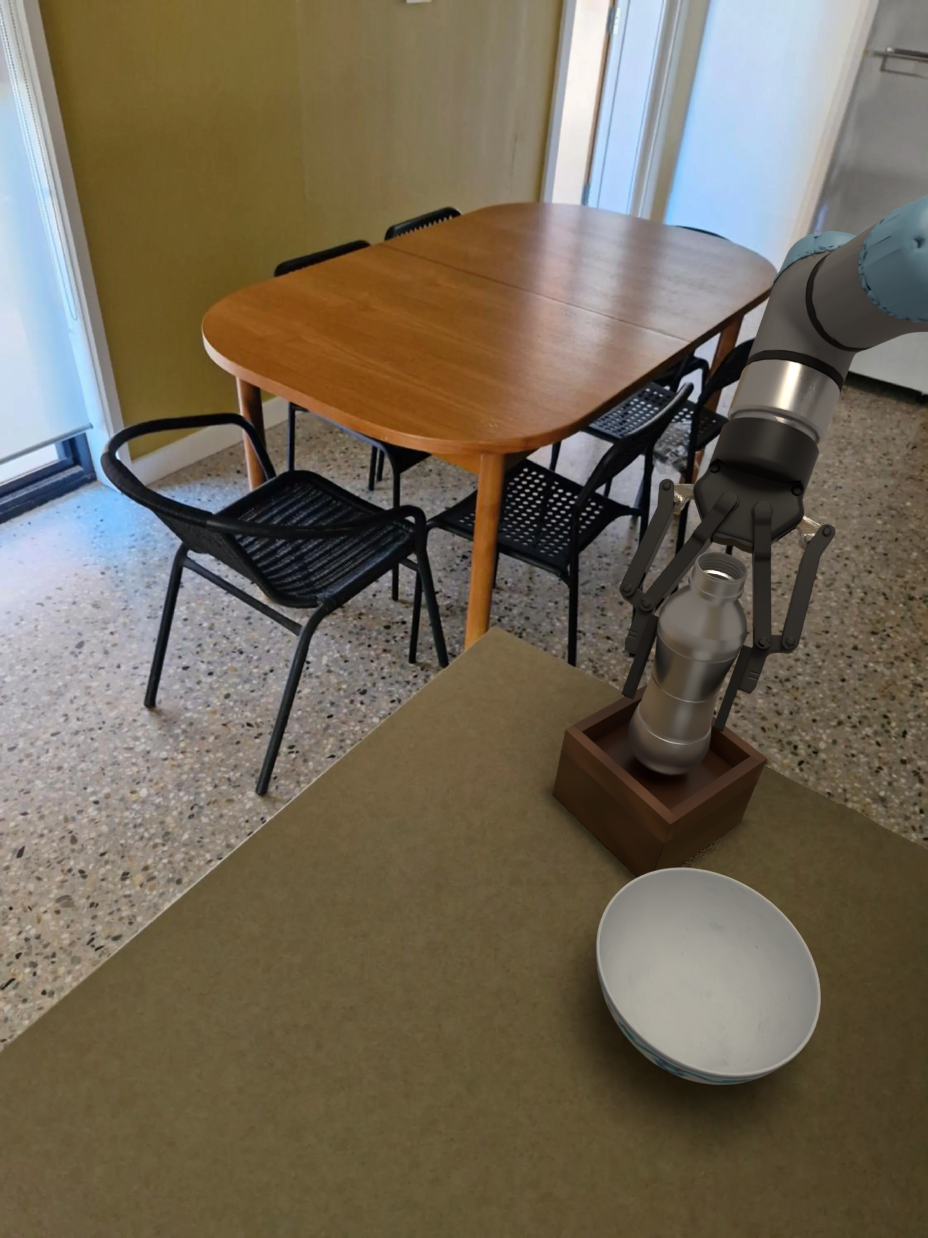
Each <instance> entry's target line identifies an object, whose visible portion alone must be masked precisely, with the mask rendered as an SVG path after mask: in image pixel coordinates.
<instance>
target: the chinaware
mask: <svg viewBox="0 0 928 1238" xmlns="http://www.w3.org/2000/svg"><path fill="white" fill-rule="evenodd" d="M597 928H598V929H597V933H596V940H595V959H596V969H597V976H598V981H599V985H600V988H601V992H602V995H603V998H604V1001H605V1003H606V1006H607V1009H608V1010H609V1013H610V1014H611V1017H612V1019H613V1020H614V1022H615V1023H616V1025H617V1027H618V1028H619V1029H620V1031H621V1032H622V1034H623V1035H624V1036H625V1038H626V1039H627V1040H628V1042H629V1043H630V1044H631V1045H632V1046H633V1047H634V1048H635V1049H636V1050H637V1051H638V1052H639V1053H640V1054H641V1055H642V1056H644V1057H645V1058H646V1059H647V1060H648V1061H650V1062H651V1063H653V1064H654V1065H656V1066H658V1067H659V1068H661V1069H663V1070H664V1071H666V1072H668V1073H669V1074H672V1075H674V1076H677V1077H679V1078H682V1079H685V1080H688V1081H691V1082H695V1083H700V1084H705V1085H706V1084H707V1085H714V1086H715V1085H717V1086H724V1085H737V1084H742V1083H747V1082H751V1081H755V1080H757V1079H760V1078H763V1077H766V1076H768V1075H770V1074H772V1073H773V1072H775V1071H777V1070H779V1069H780V1068H782V1067H784V1066H785V1065H786V1064H788V1063H789V1062H791V1061H792V1060H793V1059H794V1058H796V1056H797V1055H799V1054H800V1052H802V1050H804V1048H805V1047H806V1045H807V1044H808V1042H809V1041H810V1039H811V1037H812V1036H813V1034H814V1032H815V1029H816V1027H817V1024H818V1022H819V1021H818V1020H819V1016H820V1012H821V1000H822V996H821V993H822V992H821V984H820V977H819V974H818V970H817V965H816V963H815V960H814V958H813V955H812V953H811V951H810V949H809V947H808V945H807V943H806V941H805V940H804V938H803V937H802V935H801V934H800V932H799V930H798V929H797V928H796V926H795V925H794V924H793V923H792V922H791V920H790V919H789V918H788V917H787V916H786V915H785V914H784V913H783V912H782V910H780V909H779V908H778V907H777V906H776V905H775V904H774V903H773V902H772V901H770V900H769V899H768V898H767V897H765V896H764V895H762V894H761V893H760V892H758V891H757V890H755V889H753V888H752V887H750V886H748V885H747V884H745V883H743V882H740V881H739V880H736V879H734V878H732V877H729V876H727V875H724V874H721V873H718V872H714V871H711V870H707V869H702V868H701V869H700V868H695V867H678V868H668V869H662V870H657V871H653V872H650V873H647V874H644V875H642V876H640V877H636V878H634V879H632V880H631V881H629V882H627V884H625V885H623V886H622V888H620V889H619V890H618V891H617V892H616V893H615V894H614V895H613V897H612V898H611V899H610V901H609V902H608V904H607V905H606V907H605V909H604V911H603V913H602V915H601V918H600V920H599V924H598V927H597Z"/></svg>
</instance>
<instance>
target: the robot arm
mask: <svg viewBox="0 0 928 1238" xmlns="http://www.w3.org/2000/svg"><path fill="white" fill-rule="evenodd" d="M772 283H773V284H772V285H771V287H770V291H769V295H768V296H769V297H768V300H767V303H766V306H765V308H764V312H763V314H762V317H761V320H760V323H759V326H758V328H757V331H756V334H755V338H754V341H753V343H752V345H751V349H750V351H749V353H748V357H747V360H746V362H745V366H744V368H743V370H742V371H741V374H740V377H739V380H738V383H737V386H736V388H735V391H734V394H733V397H732V400H731V403H730V406H729V408H728V411H727V415H726V416H727V419H728V422H725V423H724V424H723V425H722V427H721V430H720V433H719V435H718V439H717V441H716V443H715V446H714V449H713V452H712V455H711V458H710V460H709V463H708V466H707V469H706V470H705V472H704V473H703V475H702V476H701V477H699V478H698V479H697V480H696V481H695V482H694V483H675V482H674V481H673V480H672V479H671V478H664V479H662V480H661V481H660V482H659V484H658V493H657V504H656V505H657V506H656V509H655V510H654V512H653V514H652V517H651V519H650V521H649V523H648V525H647V526H646V529H645V531H644V534H643V536H642V538H641V540H640V542H639V544H638V546H637V549H636V551H635V553H634V554H633V557H632V558H631V561H630V563H629V565H628V567H627V570H626V572H625V574H624V577H623V579H622V580H621V583H620V585H619V593H620V595H621V597H622V599H623V600H624V601H625V602H627V603H628V604H630V605H631V606H632V607H634V609H635V613H634V616H633V618H632V622H631V625H630V627H629V629H628V633H627V635H626V638H625V641H624V650H625V651H626V652H628V653H630V654H633V655H634V658H633V660H632V663H631V665H630V668H629V672H628V674H627V676H626V679H625V683H624V685H623V688H622V691H621V695H622V696H623V697H628V698H630V699H634V697H635V694H636V691H637V690H638V689H639V685H640V683H641V680H642V677H643V674H644V672H645V669H646V667H647V663H648V661H649V658H650V655H651V652H652V650H653V647H654V644H655V642H656V638H657V626H658V625H657V624H658V618H659V615H656V612H657V611H658V610H660V608H661V607H662V606H663V604H664V603H665V601H666V600H667V599H668V598H669V597H670V596H671V595H672V592H673V591H674V590H675V589H676V588H677V586H678V585H679V584H680V582H682V581H683V579H684V578H685V577H686V575H687V574H688V573H689V572H690V571H691V569H693V567H694V564H695V561H696V559H697V557H698V556H699V555H701V554H703V553H706V551H707V550H708V549H709V548H710V547H711V546H712V545H713V543H714V544H718V545H721V546H731V547H732V546H733V547H735V548H736V549H738V550H739V551H741V552H744V553H747V554H750V555H751V566H752V568H751V569H752V570H751V571H752V572H751V574H752V577H751V580H752V582H751V583H752V585H751V587H752V591H751V592H752V646H748V645H745V644H743V647H742V649H741V650H740V652H739V654H738V656H737V658H736V661H735V664H734V667H733V670H732V673H731V676H730V678H729V681H728V684H727V687H726V690H725V693H724V695H723V699H722V701H721V704H720V707H719V709H718V712H717V714H716V717H715V718H716V721H715V723H714V726H713V729H716V730H719V731H721V732H723V730H724V727H725V726H726V725H727V721H728V719H729V716H730V713H731V710H732V707H733V705H734V702H735V698H736V696H737V693H738V691H740V692H743V693H746V694H748V695H751V694H752V693H753V692H754V691H755V689H756V688H757V686H758V683H759V680H760V677H761V674H762V671H763V669H764V665H765V663H766V660H767V658H768V657H769V656H770V655H773V654H785V655H786V654H787V655H790V654H792V653H793V652H794V651H795V650H796V649H797V648H798V647H799V645H800V640H801V637H802V633H803V628H804V625H805V621H806V617H807V613H808V609H809V604H810V600H811V597H812V592H813V588H814V585H815V580H816V577H817V573H818V568H819V565H820V560H821V557H822V556H823V555H824V553H825V552H826V550H827V548H828V547H829V546H830V545H831V543H832V541H833V539H834V537H835V535H836V528H835V526H833V525H832V524H829V523H825V524H820V523H819V522H817V521H815V520H813V518H810V517H808V516H806V515H805V507H804V498H805V497H804V496H805V494H806V491H807V488H808V485H809V483H810V480H811V478H812V475H813V471H814V468H815V466H816V463H817V460H818V458H819V455H820V449H819V447H818V446H819V445H820V444H821V443H823V442H824V440H825V437H826V434H827V432H828V429H829V426H830V423H831V420H832V417H833V415H834V412H835V410H836V407H837V404H838V401H839V398H840V396H841V392H842V389H843V387H844V384H845V381H846V378H847V376H848V372H849V370H850V368H851V365H852V362H853V359H854V357H855V356H856V354H859V353H861V352H863V351H867V350H871V349H872V348H874V347H877V346H879V345H882V344H885V343H886V342H889V341H891V340H894V339H896V338H898V337H901V336H904V335H907V334H915V333H928V193H927V194H926V195H924V196H922V197H920V198H918V199H916V200H913V201H910V202H907V203H905V204H903V205H902V206H901V207H900V208H899V207H898V208H895V209H893V210H892V211H891V212H890V213H889V214H887V215H885V216H883V217H882V219H881V220H879V221H878V222H876V223H874V224H873V225H871V226H870V227H868V228H867V229H865V230H863V231H862V232H860V233H859V234H858V235H856V234H853V233H850V232H844V231H837V230H830V231H829V230H827V231H823V232H822V233H821V234H816V233H811V234H808V235H805V236H803V237H802V238H800V239H798V240H797V241H796V242H794V243H793V245H792V246H790V248H789V250H788V251H787V253H786V255H785V257H784V260H783V262H782V265H781V267H780V269H779V271H778V273H777V274H776V275H775V277H774V279H773V282H772ZM689 501H694V504H695V506H696V510H697V512H698V516H699V519H700V522H699V523H698V525H697V526H696V528H695V529H694V530H693V532H692V533H691V535H690V537H689V538H688V539H687V541H686V542H685V543H684V544H683V545H682V546H681V548H680V549H679V551H677V553H676V554H675V555H674V557H673V558H672V559H671V560H670V561H669V563H668V564H667V565H666V566H665V568H664V569H663V570H662V571H661V573H660V574H659V575H658V577H656V578H655V580H654V581H653V582H652V584H651V585H650V586H649V588H648V589H647V590H646V591H645V592H644V591H642V590H641V589H642V587H643V584H644V582H645V580H646V578H647V577H648V574H649V571H650V570H651V568H652V565H653V563H654V561H655V559H656V557H657V554H658V552H659V550H660V548H661V546H662V544H663V542H664V540H665V537H666V536H667V533H668V532H669V530H670V527H671V524H672V522H673V519H674V515H675V513H679V512H682V511H683V509H684V508H685V506H686V504H687V503H688V502H689ZM795 530H797V531H798V533H799V538H798V546H799V548H800V549H801V550H803V553H802V556H801V557H800V561H799V564H798V568H797V572H796V575H795V580H794V583H793V588H792V591H791V596H790V600H789V604H788V607H787V611H786V616H785V619H784V623H783V628H782V632H781V634H773V633H772V632H773V631H772V628H773V627H772V545H773V544H776V542H778V541H779V540H781V539H783V538H785V536H787V535H788V534H790V533H791V532H793V531H795Z"/></svg>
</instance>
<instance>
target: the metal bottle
mask: <svg viewBox="0 0 928 1238" xmlns="http://www.w3.org/2000/svg"><path fill="white" fill-rule="evenodd" d="M748 574H749V570H748V567H747V565H746V564H745V563H744V562H743V561H741V560H740V559H739V558H738V557H736V556H734V555H731V554H728V553H726V552H721V551H720V552H719V551H707V552H706V551H705V552H704V553H703V554H701V555H699V556H698V557H697V559H696V561H695V564H694V565H693V566H692V570H690V572H689V576H688V579H687V583H688V584H687V585H684V586H682V587H681V588H679V589H678V590H676V591H675V592H673V593H671V594H670V595H669V596H668V597H667V599H666V600H665V601H664V602H663V604H662V605H661V606H660V608H659V612H658V617H659V618H658V624H657V625H658V626H657V636H656V639H655V651H654V656H653V661H652V668H651V672H650V676H649V680H648V682H647V684H648V685H647V684H646V685H647V687H646V690H645V692H644V695H643V697H642V700H641V702H640V703H639V705H638V706H637V708H636V710H635V712H634V714H633V716H632V719H631V721H630V723H629V745H630V748H631V750H632V752H633V753H634V755H635V756H636V758H637V759H638V760H639V761H640V762H641V763H642V764H643V765H644V766H645V767H647V768H648V769H650V770H652V771H654V772H657V773H660V774H664V775H680V774H684V773H687V772H689V771H692V770H694V769H695V768H696V767H698V765H699V764H700V763H701V761H702V760H703V758H704V757H705V755H706V754H707V752H708V749H709V745H710V738H711V723H712V718H713V717H714V712H715V710H716V704H717V700H718V697H719V694H720V692H721V689H722V688H723V685H724V683H725V680H726V678H727V675H728V673H729V671H730V670H731V668H732V667H733V665H734V663H735V662H736V660H737V659H738V656H739V653H740V650H741V649H742V647H743V645H745V642H746V640H747V637H748V620H747V617H746V614H745V612H744V608H743V606H742V604H741V602H740V600H739V599H741V598H742V595H743V593H744V590H745V584H746V580H747V578H748Z"/></svg>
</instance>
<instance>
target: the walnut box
mask: <svg viewBox="0 0 928 1238" xmlns="http://www.w3.org/2000/svg"><path fill="white" fill-rule="evenodd" d="M647 685H648V683H647V684H645V685H643V686H642V687H640V688H639V687H638V688H637V691H636V694H635V697H634V699H630V698H628V697H625V696H623V697H622V698H619V699H618V700H616V701H614V702H612V703H610V704H608V705H607V706H605V707H603V708H602V709H600V710H598V711H596V712H594V713H592V714H591V715H589V716H587V717H585V718H583V719H582V720H580V721H578V722H576V723H574V724H573V725H571V726H569V727H567V728H565V730H564V734H563V740H562V745H561V750H560V755H559V758H558V759H559V760H558V765H557V769H556V774H555V779H554V785H553V790H552V795H553V797H554V798H556V800H558V802H560V804H562V805H563V806H564V807H565V808H566V809H567V810H568V811H569V812H570V813H571V814H572V815H573V816H574V817H575V818H576V819H577V820H578V821H579V822H580V823H581V824H582V825H583V826H584V827H585V828H586V829H587V830H588V831H589V832H590V833H591V834H592V835H593V836H594V837H595V838H596V839H597V840H598V841H600V843H602V844H603V845H604V846H605V848H607V849H608V851H610V853H612V854H613V855H614V856H615V857H616V858H617V859H618V860H619V861H620V862H621V863H622V864H623V866H625V867H626V868H627V869H628V870H629V871H630V872H631V873H632V874H633V875H634V876H635V877H636V878H638V877H640V876H642V875H644V874H647V873H650V872H653V871H657V870H662V869H668V868H680V867H681V866H682V865H684V864H685V863H686V862H688V861H689V860H690V859H691V858H693V857H695V856H696V855H697V854H698V853H700V852H701V851H703V850H704V849H705V848H707V847H708V846H710V845H711V844H712V843H714V842H715V841H716V840H718V839H719V838H721V837H722V836H724V835H725V834H726V833H728V832H729V831H730V830H732V829H733V828H735V827H736V826H737V825H739V824H740V823H741V822H742V820H743V817H744V815H745V812H746V810H747V807H748V805H749V803H750V801H751V799H752V796H753V793H754V791H755V789H756V786H757V785H758V781H759V779H760V777H761V774H762V772H763V770H764V767H765V765H766V763H767V761H768V757H766V756H765V755H764V754H763V753H761V752H760V751H759V750H757V749H756V748H754V747H753V746H752V745H751V744H750V743H749V742H747V741H746V740H745V739H743V738H742V737H740V735H738V734H737V733H736V732H735V731H733V730H732V729H730V728H729V727H728V726H726V725H725V727H724V730H723V732H721V731H719V730H716V729H713V726H714V723H715V721H716V718H717V717H715V716H713V718H712V723H711V738H710V745H709V749H708V752H707V754H706V755H705V757H704V758H703V760H702V761H701V763H700V764H699V765H698V767H696V768H695V769H694V770H692V771H689V772H687V773H684V774H680V775H664V774H660V773H657V772H654V771H652V770H650V769H648V768H647V767H645V766H644V765H643V764H642V763H641V762H640V761H639V760H638V759H637V758H636V756H635V755H634V753H633V752H632V750H631V748H630V745H629V723H630V721H631V719H632V716H633V714H634V712H635V710H636V708H637V706H638V705H639V703H640V702H641V700H642V697H643V695H644V692H645V690H646V687H647Z"/></svg>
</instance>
